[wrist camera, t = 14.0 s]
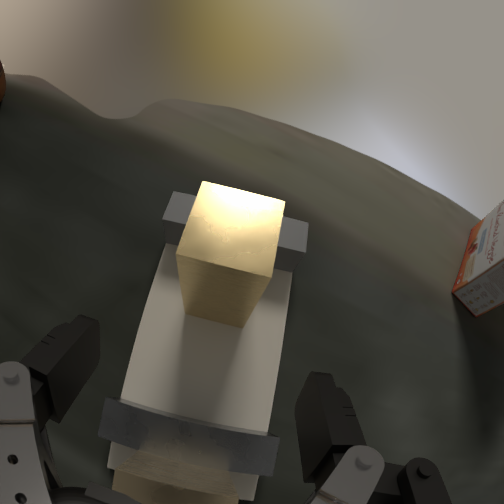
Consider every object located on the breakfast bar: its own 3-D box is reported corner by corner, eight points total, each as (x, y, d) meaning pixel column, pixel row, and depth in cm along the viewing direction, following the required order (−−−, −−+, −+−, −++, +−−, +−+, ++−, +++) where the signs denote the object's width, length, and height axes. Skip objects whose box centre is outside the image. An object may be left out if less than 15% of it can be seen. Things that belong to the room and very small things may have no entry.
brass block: (184, 313, 25) (175, 253, 15) (200, 262, 27) (202, 181, 17) (242, 328, 25) (271, 277, 15) (254, 275, 27) (284, 201, 18)
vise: (110, 464, 18) (91, 477, 14) (176, 222, 30) (173, 191, 25) (251, 497, 19) (262, 517, 14) (292, 250, 30) (308, 223, 26)
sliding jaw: (107, 462, 17) (55, 492, 9) (120, 397, 20) (71, 393, 12) (254, 496, 18) (287, 546, 9) (267, 431, 21) (309, 450, 12)
